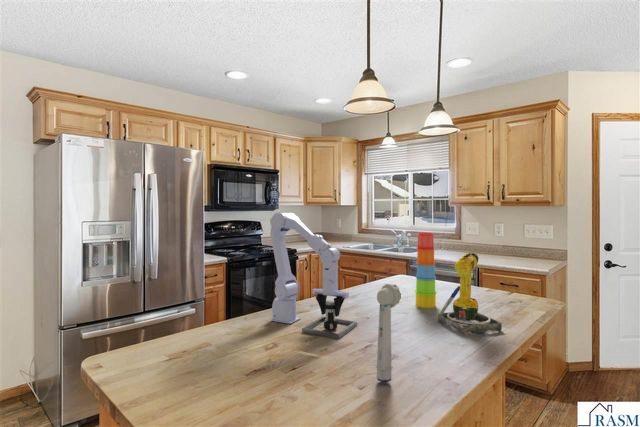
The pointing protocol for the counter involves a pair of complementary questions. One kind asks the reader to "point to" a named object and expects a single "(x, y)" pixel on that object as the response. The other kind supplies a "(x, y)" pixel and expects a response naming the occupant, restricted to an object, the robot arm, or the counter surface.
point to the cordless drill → (466, 302)
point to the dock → (309, 330)
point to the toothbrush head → (385, 330)
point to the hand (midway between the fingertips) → (330, 314)
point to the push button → (330, 315)
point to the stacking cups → (425, 272)
